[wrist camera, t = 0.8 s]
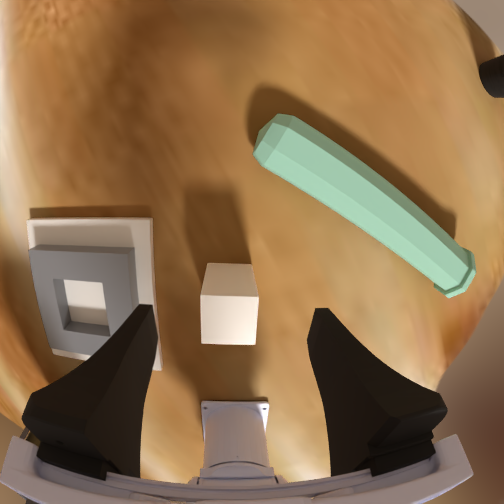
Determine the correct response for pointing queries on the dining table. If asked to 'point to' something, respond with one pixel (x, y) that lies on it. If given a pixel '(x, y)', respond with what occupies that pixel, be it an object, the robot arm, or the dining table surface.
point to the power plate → (107, 236)
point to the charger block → (229, 304)
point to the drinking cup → (493, 76)
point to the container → (363, 200)
